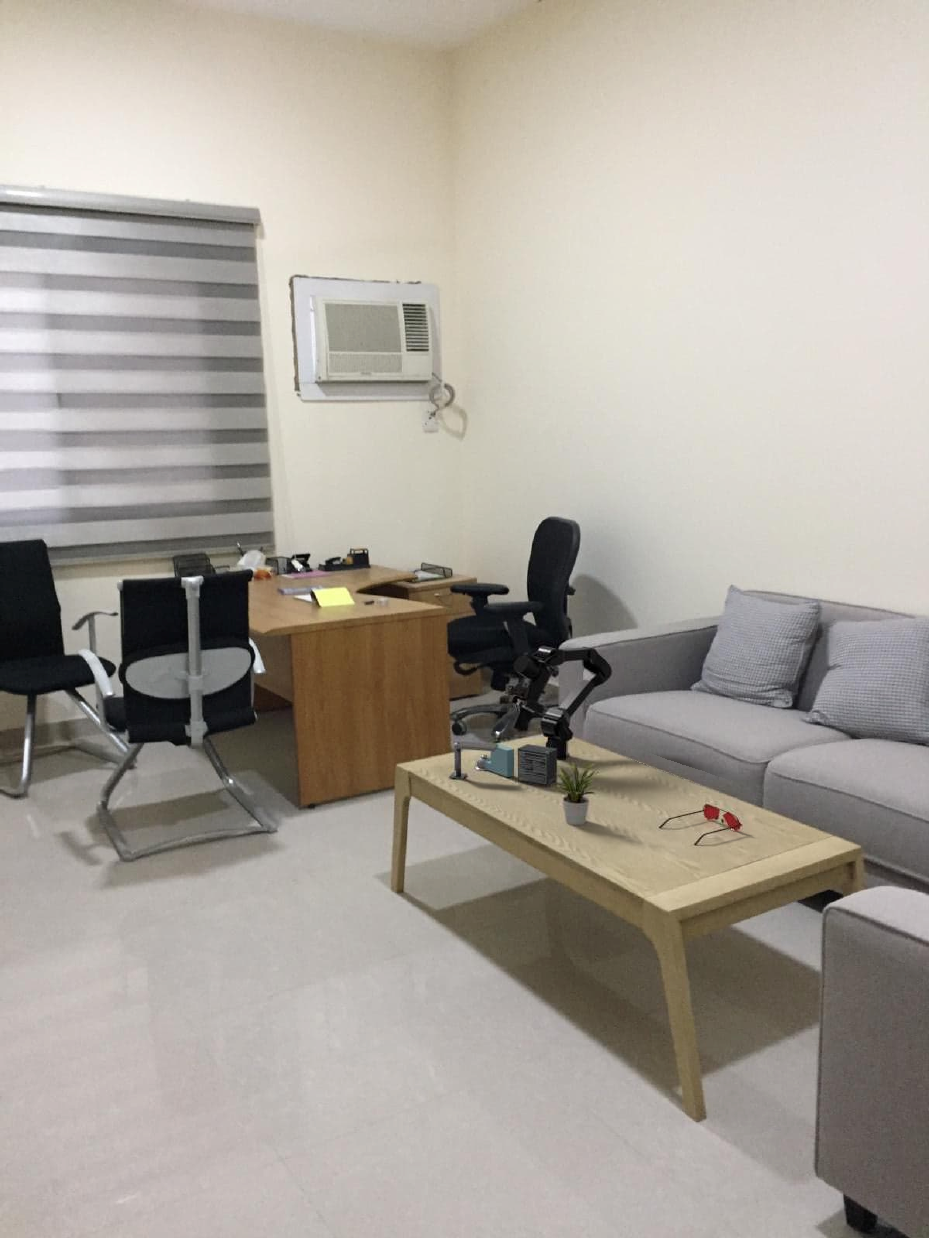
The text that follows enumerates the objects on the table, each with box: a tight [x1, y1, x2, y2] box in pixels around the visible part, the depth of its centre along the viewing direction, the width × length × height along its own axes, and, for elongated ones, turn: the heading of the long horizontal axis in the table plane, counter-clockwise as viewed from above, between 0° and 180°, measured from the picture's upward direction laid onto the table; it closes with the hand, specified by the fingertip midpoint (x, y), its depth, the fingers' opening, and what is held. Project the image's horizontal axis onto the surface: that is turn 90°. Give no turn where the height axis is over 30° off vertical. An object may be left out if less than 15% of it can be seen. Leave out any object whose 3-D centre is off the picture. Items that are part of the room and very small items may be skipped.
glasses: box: [658, 803, 743, 846], centre depth 261 cm, size 14×16×5 cm
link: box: [476, 742, 515, 778], centre depth 311 cm, size 15×5×8 cm, turn 37°
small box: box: [517, 744, 558, 788], centre depth 301 cm, size 11×6×10 cm, turn 58°
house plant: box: [554, 761, 604, 826], centre depth 267 cm, size 14×14×16 cm
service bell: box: [473, 754, 488, 771], centre depth 316 cm, size 7×7×4 cm
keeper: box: [448, 740, 499, 780], centre depth 305 cm, size 14×5×11 cm, turn 74°
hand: (514, 728), depth 316 cm, fingers closed
